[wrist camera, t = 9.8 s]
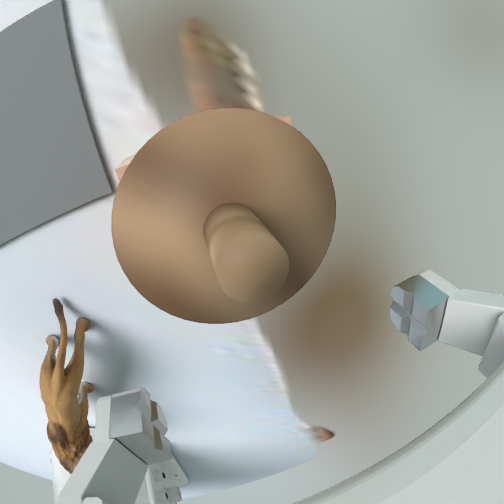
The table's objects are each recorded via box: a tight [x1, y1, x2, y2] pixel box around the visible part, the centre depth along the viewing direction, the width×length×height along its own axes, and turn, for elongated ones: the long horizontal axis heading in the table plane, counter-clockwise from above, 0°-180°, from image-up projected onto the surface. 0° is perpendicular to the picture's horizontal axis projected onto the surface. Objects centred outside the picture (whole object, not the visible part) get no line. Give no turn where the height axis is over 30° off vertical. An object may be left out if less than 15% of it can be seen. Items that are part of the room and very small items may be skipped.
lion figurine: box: [39, 298, 93, 474], centre depth 18 cm, size 15×5×9 cm, turn 170°
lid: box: [112, 108, 336, 324], centre depth 14 cm, size 12×12×5 cm
